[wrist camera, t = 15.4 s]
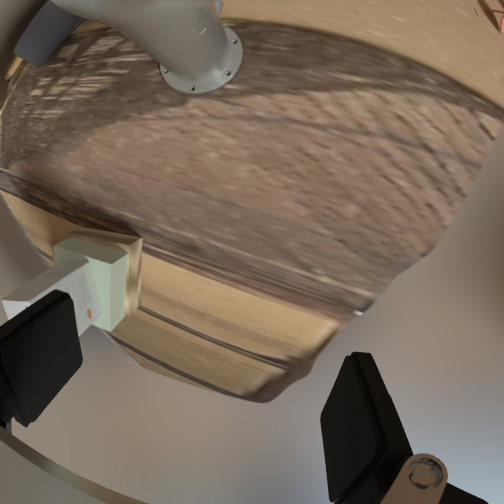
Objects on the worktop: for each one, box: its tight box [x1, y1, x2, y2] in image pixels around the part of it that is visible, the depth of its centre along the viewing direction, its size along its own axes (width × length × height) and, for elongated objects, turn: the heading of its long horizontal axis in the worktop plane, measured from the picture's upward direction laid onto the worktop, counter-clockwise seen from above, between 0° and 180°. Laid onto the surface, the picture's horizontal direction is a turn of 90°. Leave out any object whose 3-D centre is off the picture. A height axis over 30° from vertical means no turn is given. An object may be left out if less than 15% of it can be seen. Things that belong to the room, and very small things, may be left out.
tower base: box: [68, 227, 142, 316], centre depth 44 cm, size 12×12×5 cm
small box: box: [2, 262, 103, 336], centre depth 30 cm, size 8×6×13 cm
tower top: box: [53, 237, 128, 332], centre depth 39 cm, size 11×11×5 cm
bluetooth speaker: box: [14, 0, 85, 66], centre depth 28 cm, size 23×9×10 cm, turn 135°
